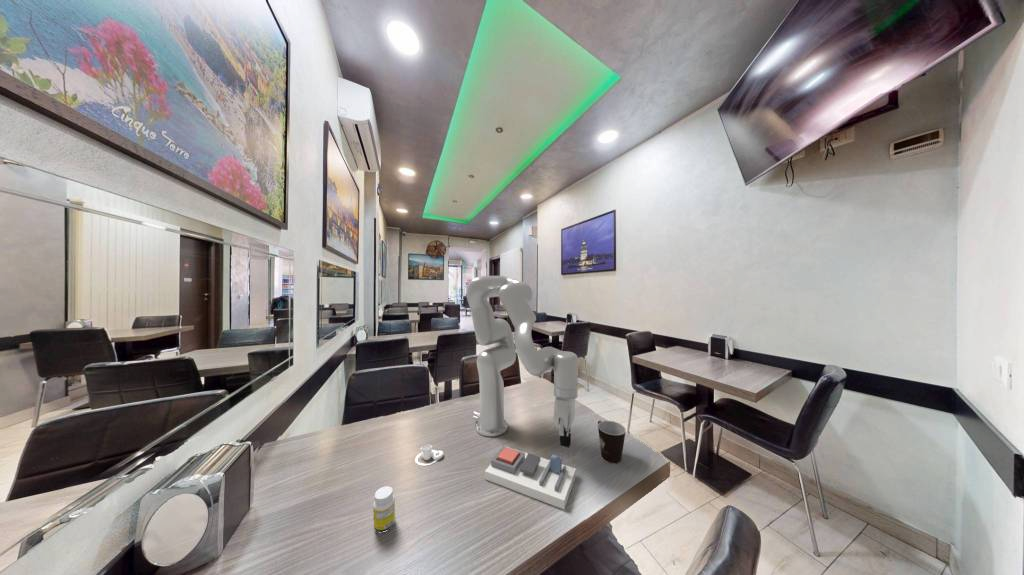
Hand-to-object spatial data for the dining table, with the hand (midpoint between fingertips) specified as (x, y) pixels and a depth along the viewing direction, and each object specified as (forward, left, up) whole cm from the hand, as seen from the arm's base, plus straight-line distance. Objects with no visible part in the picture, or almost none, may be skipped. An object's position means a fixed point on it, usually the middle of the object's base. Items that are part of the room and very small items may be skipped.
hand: (565, 445), depth 90 cm
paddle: (0, -10, -2) cm, 10 cm away
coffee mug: (+13, +10, -5) cm, 17 cm away
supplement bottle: (-33, -42, -5) cm, 54 cm away
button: (-15, -12, -2) cm, 19 cm away
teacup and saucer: (-39, -21, -6) cm, 44 cm away
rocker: (-7, -12, -1) cm, 14 cm away
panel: (-7, -12, -5) cm, 15 cm away
